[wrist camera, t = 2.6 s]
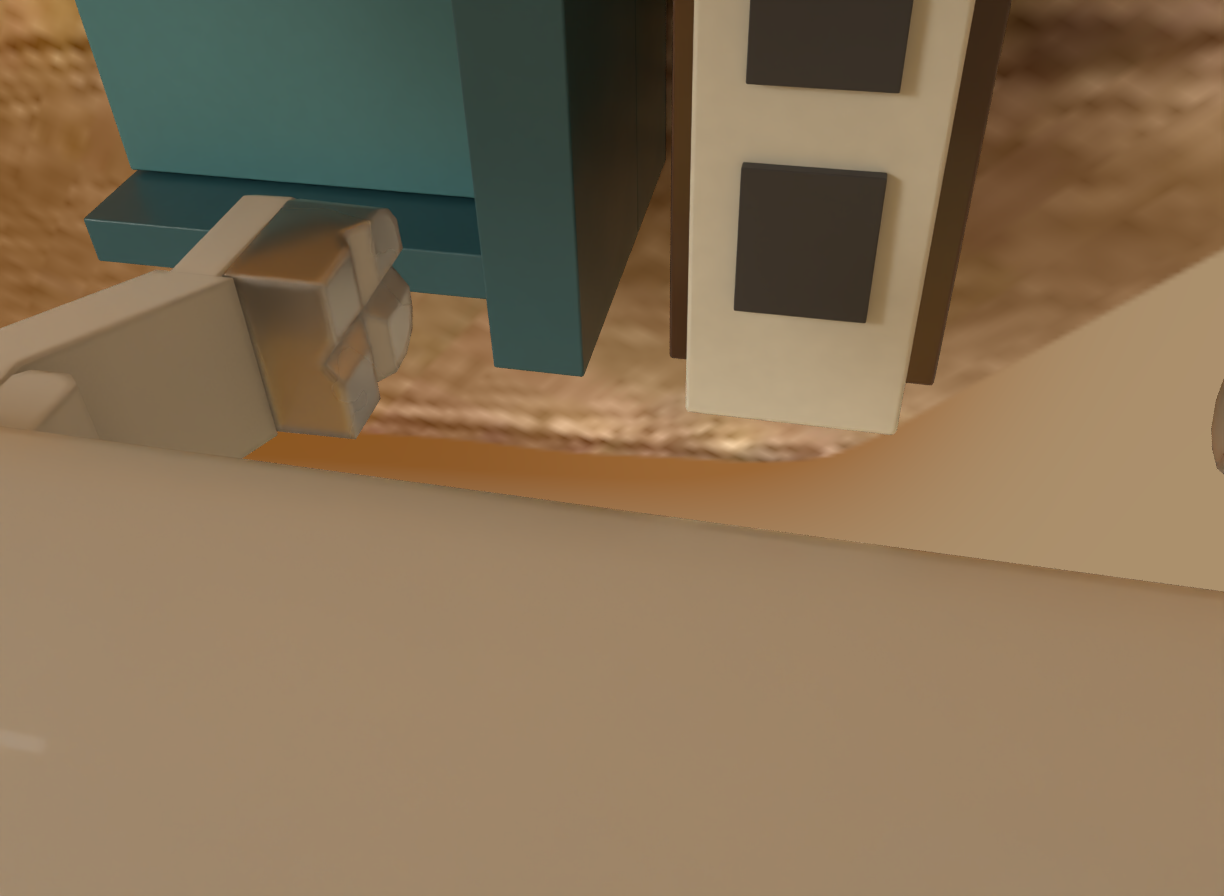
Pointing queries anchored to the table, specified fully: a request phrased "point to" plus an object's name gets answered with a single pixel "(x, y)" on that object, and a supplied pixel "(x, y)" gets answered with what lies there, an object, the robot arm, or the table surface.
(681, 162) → the brown wooden box
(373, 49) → the teal armchair
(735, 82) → the remote
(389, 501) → the robot arm
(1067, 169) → the table surface
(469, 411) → the table surface
